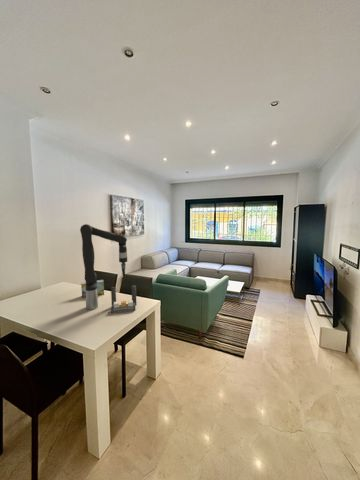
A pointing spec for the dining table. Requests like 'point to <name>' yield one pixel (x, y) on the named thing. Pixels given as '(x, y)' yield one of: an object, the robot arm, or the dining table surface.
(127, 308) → the breaker strip
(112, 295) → the post
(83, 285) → the snack box
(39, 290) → the dining table surface
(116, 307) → the paddle
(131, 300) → the paddle
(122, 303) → the paddle
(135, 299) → the post
